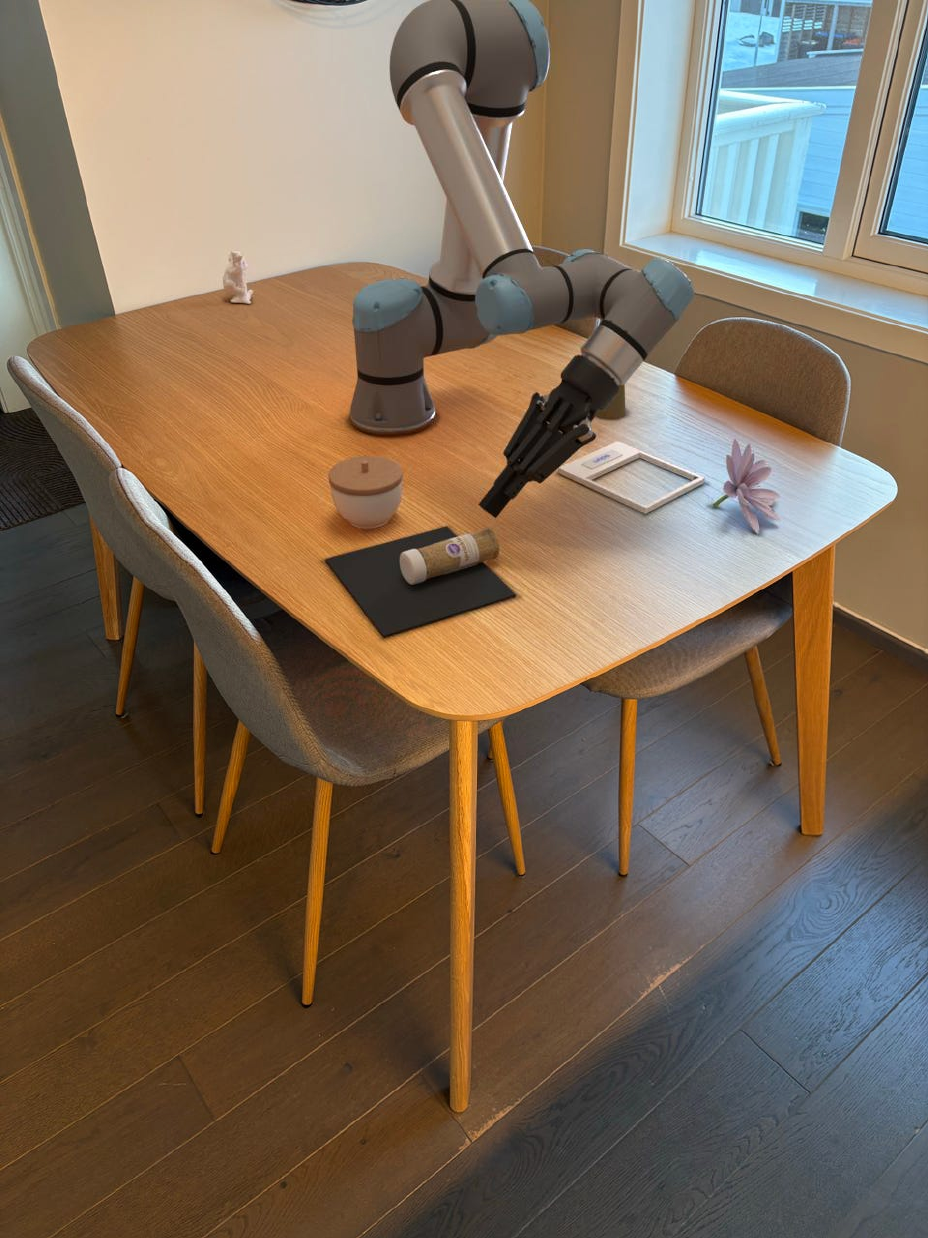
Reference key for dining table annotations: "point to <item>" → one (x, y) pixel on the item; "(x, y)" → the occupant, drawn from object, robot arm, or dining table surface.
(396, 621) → the mat
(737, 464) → the water lily
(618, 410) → the brown game pawn
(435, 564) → the sprinkles bottle
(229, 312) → the dining table surface
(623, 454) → the photo frame
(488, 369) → the dining table surface
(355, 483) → the trinket box
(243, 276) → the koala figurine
